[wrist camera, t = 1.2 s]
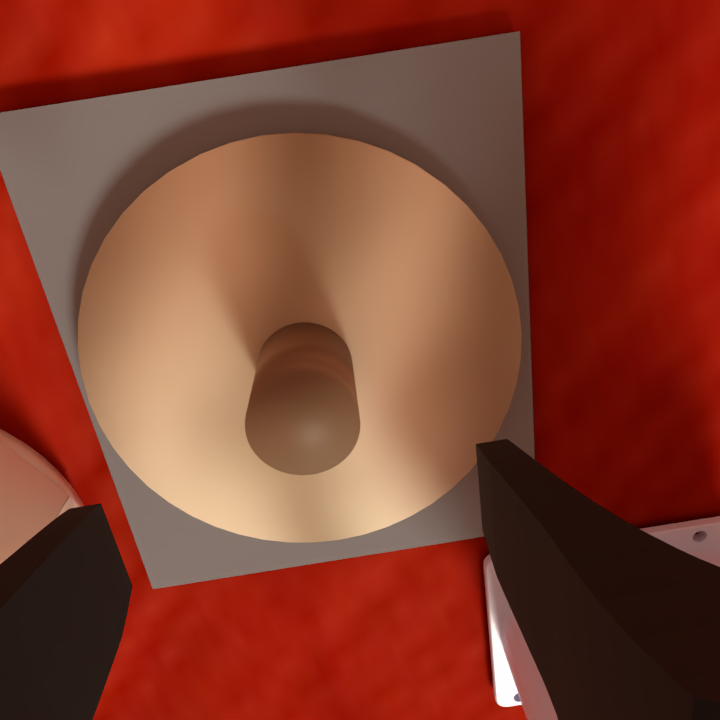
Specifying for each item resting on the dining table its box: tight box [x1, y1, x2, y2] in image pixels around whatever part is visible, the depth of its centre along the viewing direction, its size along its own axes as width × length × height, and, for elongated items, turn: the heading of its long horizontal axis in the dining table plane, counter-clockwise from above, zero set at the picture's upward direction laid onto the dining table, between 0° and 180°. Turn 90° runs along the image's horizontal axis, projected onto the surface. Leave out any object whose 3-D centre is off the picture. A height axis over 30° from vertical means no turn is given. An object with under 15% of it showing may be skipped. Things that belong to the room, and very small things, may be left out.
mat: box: [0, 31, 535, 589], centre depth 19 cm, size 14×16×1 cm
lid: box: [78, 132, 522, 542], centre depth 17 cm, size 13×13×4 cm
